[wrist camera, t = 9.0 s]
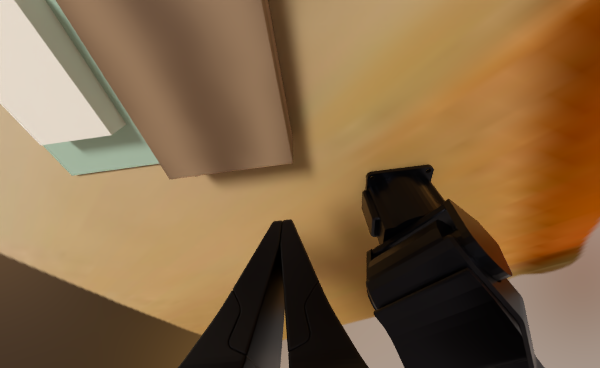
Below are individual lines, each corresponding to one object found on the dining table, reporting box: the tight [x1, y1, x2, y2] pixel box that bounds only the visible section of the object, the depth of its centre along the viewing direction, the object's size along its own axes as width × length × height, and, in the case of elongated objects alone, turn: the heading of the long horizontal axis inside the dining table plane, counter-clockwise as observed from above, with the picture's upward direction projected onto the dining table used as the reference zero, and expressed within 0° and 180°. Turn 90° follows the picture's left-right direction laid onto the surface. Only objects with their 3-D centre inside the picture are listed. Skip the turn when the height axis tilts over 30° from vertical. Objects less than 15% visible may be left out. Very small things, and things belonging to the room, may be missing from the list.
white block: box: [0, 0, 126, 145], centre depth 16 cm, size 6×9×2 cm, turn 8°
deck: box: [56, 0, 293, 179], centre depth 15 cm, size 10×16×4 cm, turn 8°
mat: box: [43, 0, 160, 176], centre depth 17 cm, size 12×17×1 cm
